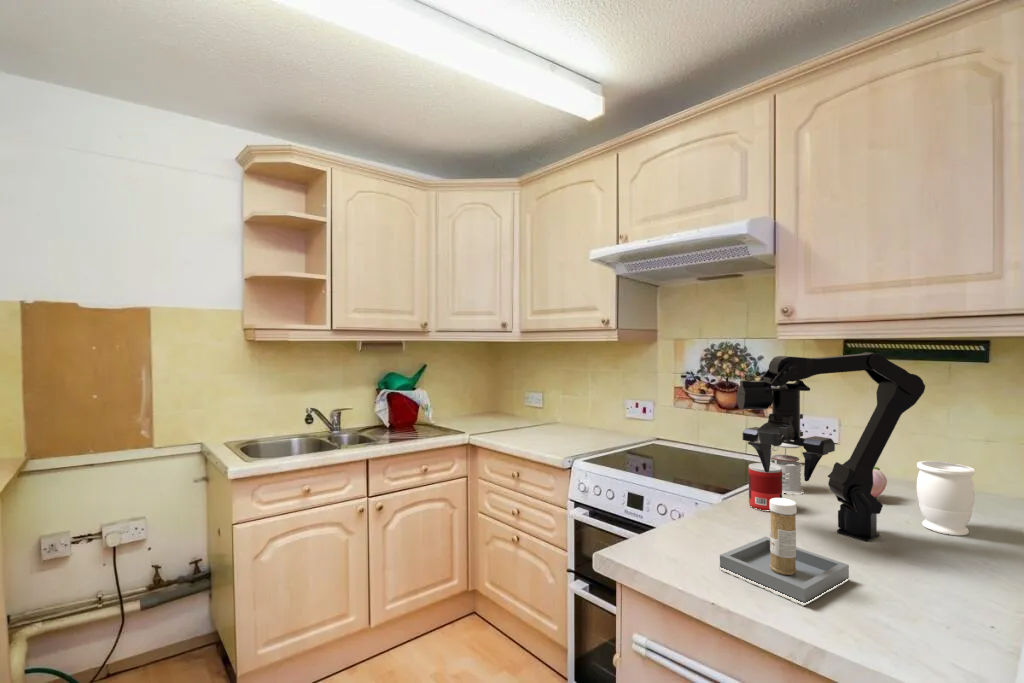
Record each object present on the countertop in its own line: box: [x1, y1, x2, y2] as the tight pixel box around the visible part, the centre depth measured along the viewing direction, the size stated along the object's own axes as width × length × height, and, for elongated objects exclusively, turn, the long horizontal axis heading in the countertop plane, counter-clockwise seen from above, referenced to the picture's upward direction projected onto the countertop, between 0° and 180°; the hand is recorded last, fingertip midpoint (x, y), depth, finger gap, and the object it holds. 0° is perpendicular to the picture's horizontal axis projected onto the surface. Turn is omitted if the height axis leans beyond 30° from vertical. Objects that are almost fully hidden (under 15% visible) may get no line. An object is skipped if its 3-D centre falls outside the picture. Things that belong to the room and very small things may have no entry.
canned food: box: [748, 462, 783, 510], centre depth 133 cm, size 8×8×11 cm
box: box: [719, 536, 850, 603], centre depth 95 cm, size 16×16×3 cm
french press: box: [770, 440, 804, 493], centre depth 149 cm, size 10×12×25 cm
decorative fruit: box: [871, 465, 888, 498], centre depth 139 cm, size 9×8×10 cm
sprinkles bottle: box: [769, 497, 798, 575], centre depth 95 cm, size 5×5×14 cm
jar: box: [916, 460, 976, 536], centre depth 117 cm, size 11×10×15 cm
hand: (786, 476), depth 116 cm, fingers open, 9 cm apart
